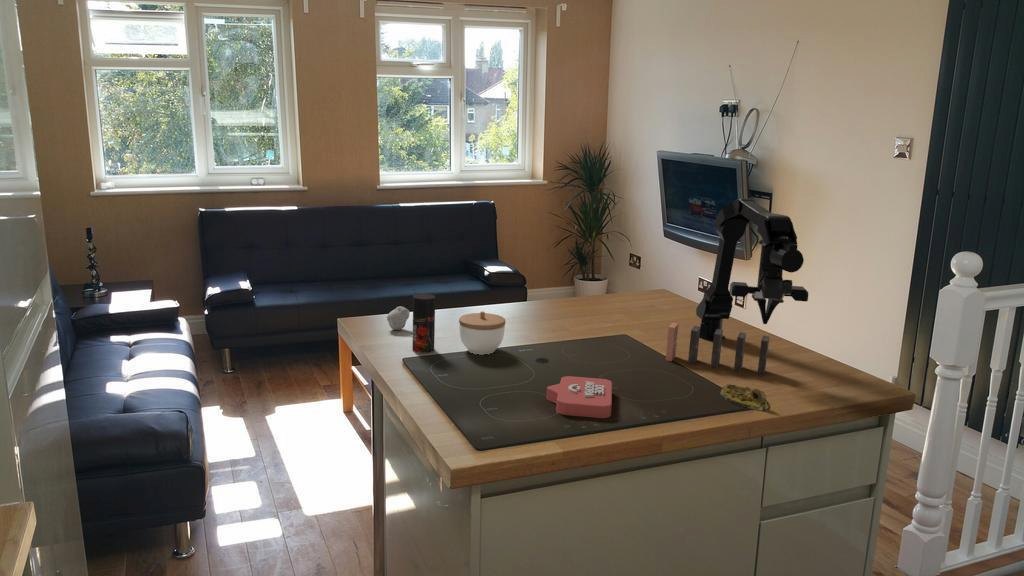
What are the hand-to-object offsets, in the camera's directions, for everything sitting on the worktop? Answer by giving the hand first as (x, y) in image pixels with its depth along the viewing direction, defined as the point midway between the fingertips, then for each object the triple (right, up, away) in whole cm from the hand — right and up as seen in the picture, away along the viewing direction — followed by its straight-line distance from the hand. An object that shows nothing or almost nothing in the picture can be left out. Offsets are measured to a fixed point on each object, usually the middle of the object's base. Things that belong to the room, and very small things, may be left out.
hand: (764, 323), depth 202 cm
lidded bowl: (-74, -8, +12) cm, 75 cm away
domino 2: (-16, -11, +10) cm, 22 cm away
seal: (-10, -18, -16) cm, 26 cm away
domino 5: (0, -13, +3) cm, 13 cm away
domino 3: (-11, -12, +8) cm, 18 cm away
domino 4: (-5, -12, +5) cm, 14 cm away
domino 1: (-22, -10, +12) cm, 27 cm away
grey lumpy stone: (-99, -3, +28) cm, 103 cm away
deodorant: (-90, -8, +11) cm, 91 cm away
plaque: (-50, -18, -22) cm, 57 cm away
